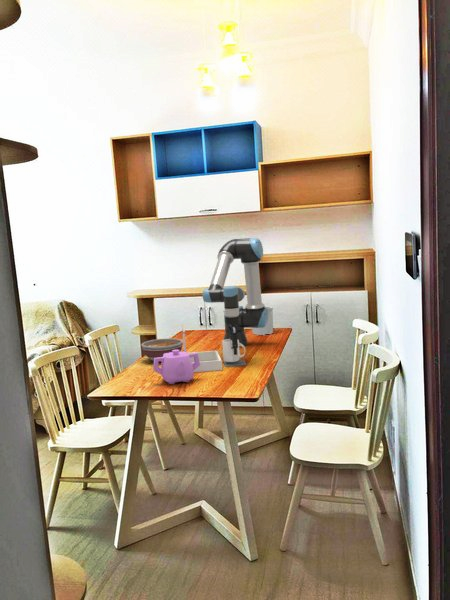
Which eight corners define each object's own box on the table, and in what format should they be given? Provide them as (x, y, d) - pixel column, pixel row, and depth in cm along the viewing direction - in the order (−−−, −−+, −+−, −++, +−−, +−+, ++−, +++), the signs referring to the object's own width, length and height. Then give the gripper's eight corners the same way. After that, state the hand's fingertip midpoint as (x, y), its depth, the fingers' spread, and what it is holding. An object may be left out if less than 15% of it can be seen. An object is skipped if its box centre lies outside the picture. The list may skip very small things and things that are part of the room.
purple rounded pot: (184, 387, 257) (182, 355, 255) (150, 385, 265) (148, 353, 263) (204, 377, 274) (202, 346, 273) (171, 374, 282) (169, 345, 281)
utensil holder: (267, 336, 367) (265, 309, 365) (247, 335, 375) (246, 309, 373) (277, 332, 379) (276, 306, 377) (258, 331, 387) (257, 305, 385)
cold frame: (217, 359, 310) (215, 321, 307) (222, 370, 286) (219, 329, 283) (184, 362, 308) (181, 324, 305) (185, 373, 284) (182, 331, 281)
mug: (243, 362, 291) (242, 341, 290) (221, 362, 294) (220, 341, 293) (247, 358, 299) (246, 338, 298) (226, 358, 302) (225, 338, 301)
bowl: (135, 364, 310) (133, 346, 309) (154, 354, 331) (153, 338, 330) (173, 365, 302) (171, 347, 301) (190, 355, 323) (189, 338, 322)
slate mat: (243, 360, 303) (243, 359, 303) (246, 365, 293) (246, 364, 292) (223, 362, 302) (223, 361, 302) (225, 367, 291) (225, 365, 291)
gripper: (222, 313, 305) (225, 354, 307) (227, 319, 283) (229, 363, 286) (236, 312, 305) (239, 353, 308) (242, 318, 284) (244, 362, 287)
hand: (234, 358), depth 297 cm, fingers closed on mug, 8 cm apart
